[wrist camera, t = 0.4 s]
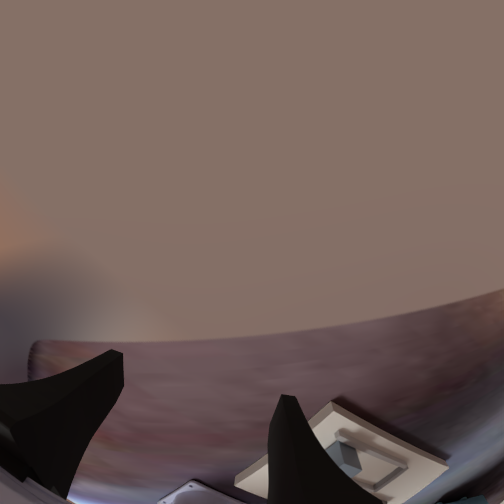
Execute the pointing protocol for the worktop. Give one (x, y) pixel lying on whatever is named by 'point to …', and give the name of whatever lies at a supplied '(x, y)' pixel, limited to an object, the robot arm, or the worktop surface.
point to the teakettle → (469, 500)
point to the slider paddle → (345, 458)
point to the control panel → (362, 458)
